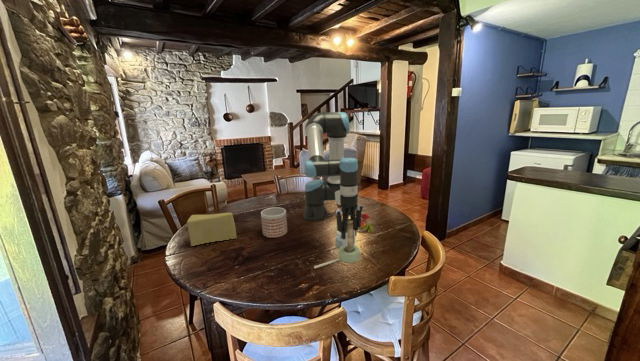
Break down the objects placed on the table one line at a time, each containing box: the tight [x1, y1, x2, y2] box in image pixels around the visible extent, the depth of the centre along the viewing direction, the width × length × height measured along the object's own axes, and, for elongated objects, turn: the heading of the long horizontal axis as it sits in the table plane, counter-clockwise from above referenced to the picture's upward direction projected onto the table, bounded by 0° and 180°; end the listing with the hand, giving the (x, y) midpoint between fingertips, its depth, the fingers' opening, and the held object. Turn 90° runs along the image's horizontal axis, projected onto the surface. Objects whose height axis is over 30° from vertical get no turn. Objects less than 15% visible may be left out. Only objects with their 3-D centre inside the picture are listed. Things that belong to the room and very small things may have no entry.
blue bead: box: [335, 234, 356, 249], centre depth 133 cm, size 9×9×4 cm
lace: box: [313, 258, 341, 270], centre depth 116 cm, size 1×13×1 cm, turn 117°
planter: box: [260, 206, 288, 239], centre depth 148 cm, size 14×14×13 cm
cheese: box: [186, 212, 238, 247], centre depth 140 cm, size 22×10×15 cm, turn 101°
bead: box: [338, 245, 360, 264], centre depth 121 cm, size 9×9×4 cm
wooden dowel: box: [345, 218, 353, 252], centre depth 119 cm, size 4×4×16 cm
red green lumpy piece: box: [357, 213, 373, 233], centre depth 146 cm, size 6×11×9 cm
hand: (349, 243), depth 120 cm, fingers closed on wooden dowel, 3 cm apart
